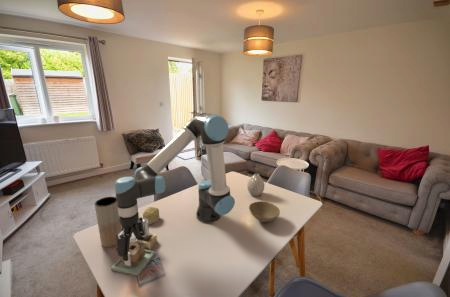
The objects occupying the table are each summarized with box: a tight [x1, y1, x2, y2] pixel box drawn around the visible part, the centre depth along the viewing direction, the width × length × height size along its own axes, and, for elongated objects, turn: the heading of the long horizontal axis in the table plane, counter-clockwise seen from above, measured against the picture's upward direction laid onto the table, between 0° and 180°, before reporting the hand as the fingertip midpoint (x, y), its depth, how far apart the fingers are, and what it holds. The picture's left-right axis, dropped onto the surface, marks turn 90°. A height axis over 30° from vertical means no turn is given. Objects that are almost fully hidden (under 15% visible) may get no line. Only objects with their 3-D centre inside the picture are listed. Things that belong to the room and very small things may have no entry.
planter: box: [94, 195, 122, 248], centre depth 101 cm, size 10×10×23 cm
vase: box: [246, 173, 265, 197], centre depth 153 cm, size 13×13×17 cm
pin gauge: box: [142, 218, 150, 242], centre depth 100 cm, size 3×3×14 cm
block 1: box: [120, 240, 145, 266], centre depth 90 cm, size 7×7×6 cm
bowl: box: [248, 200, 281, 223], centre depth 122 cm, size 18×18×8 cm
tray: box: [110, 249, 156, 277], centre depth 91 cm, size 13×13×2 cm
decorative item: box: [142, 206, 160, 225], centre depth 121 cm, size 10×10×10 cm
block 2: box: [142, 232, 158, 250], centre depth 101 cm, size 7×7×4 cm
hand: (134, 258), depth 91 cm, fingers closed on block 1, 7 cm apart
